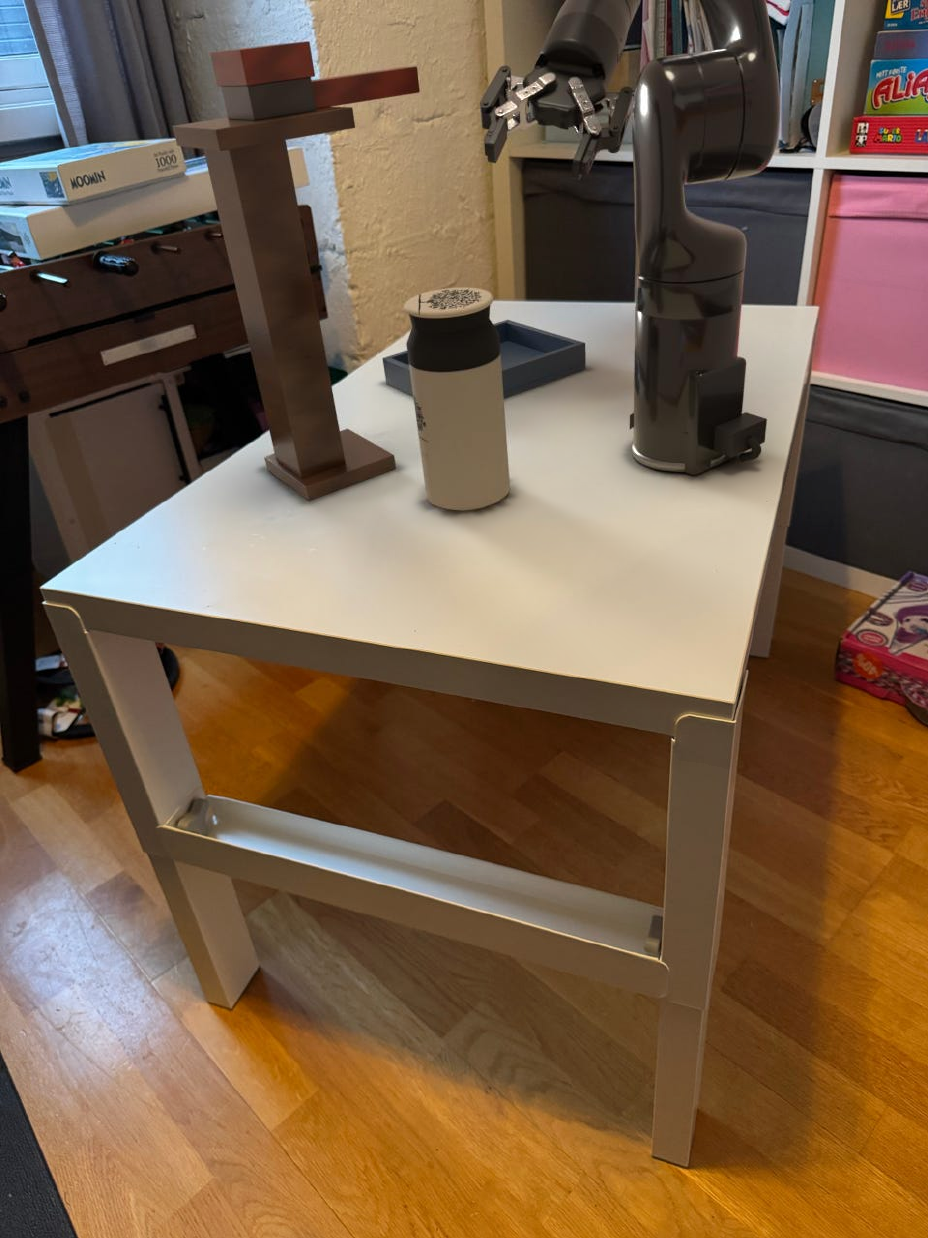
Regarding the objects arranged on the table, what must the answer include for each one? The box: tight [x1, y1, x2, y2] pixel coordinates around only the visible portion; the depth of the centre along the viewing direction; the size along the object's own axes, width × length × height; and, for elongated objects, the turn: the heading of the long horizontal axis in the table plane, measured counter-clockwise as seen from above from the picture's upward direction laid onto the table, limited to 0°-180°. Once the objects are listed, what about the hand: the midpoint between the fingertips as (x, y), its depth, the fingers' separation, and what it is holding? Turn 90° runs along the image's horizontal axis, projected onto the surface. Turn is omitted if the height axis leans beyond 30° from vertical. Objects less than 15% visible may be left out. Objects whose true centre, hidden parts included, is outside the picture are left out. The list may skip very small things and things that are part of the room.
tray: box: [381, 319, 587, 399], centre depth 109 cm, size 16×20×3 cm
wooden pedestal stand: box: [172, 106, 397, 501], centre depth 82 cm, size 12×10×32 cm
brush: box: [209, 40, 421, 121], centre depth 75 cm, size 17×6×5 cm, turn 125°
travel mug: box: [403, 287, 511, 511], centre depth 78 cm, size 8×8×18 cm
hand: (532, 163), depth 84 cm, fingers open, 8 cm apart
